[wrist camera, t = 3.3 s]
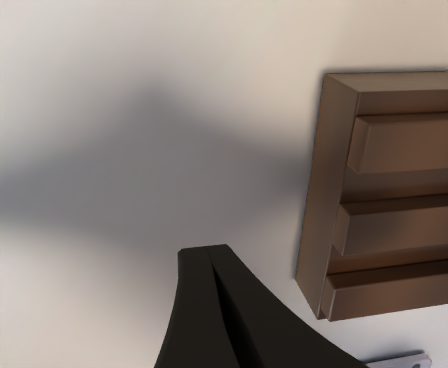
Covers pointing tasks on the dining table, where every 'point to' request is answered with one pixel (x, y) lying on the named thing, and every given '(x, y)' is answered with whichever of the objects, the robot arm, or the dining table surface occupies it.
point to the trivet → (377, 196)
